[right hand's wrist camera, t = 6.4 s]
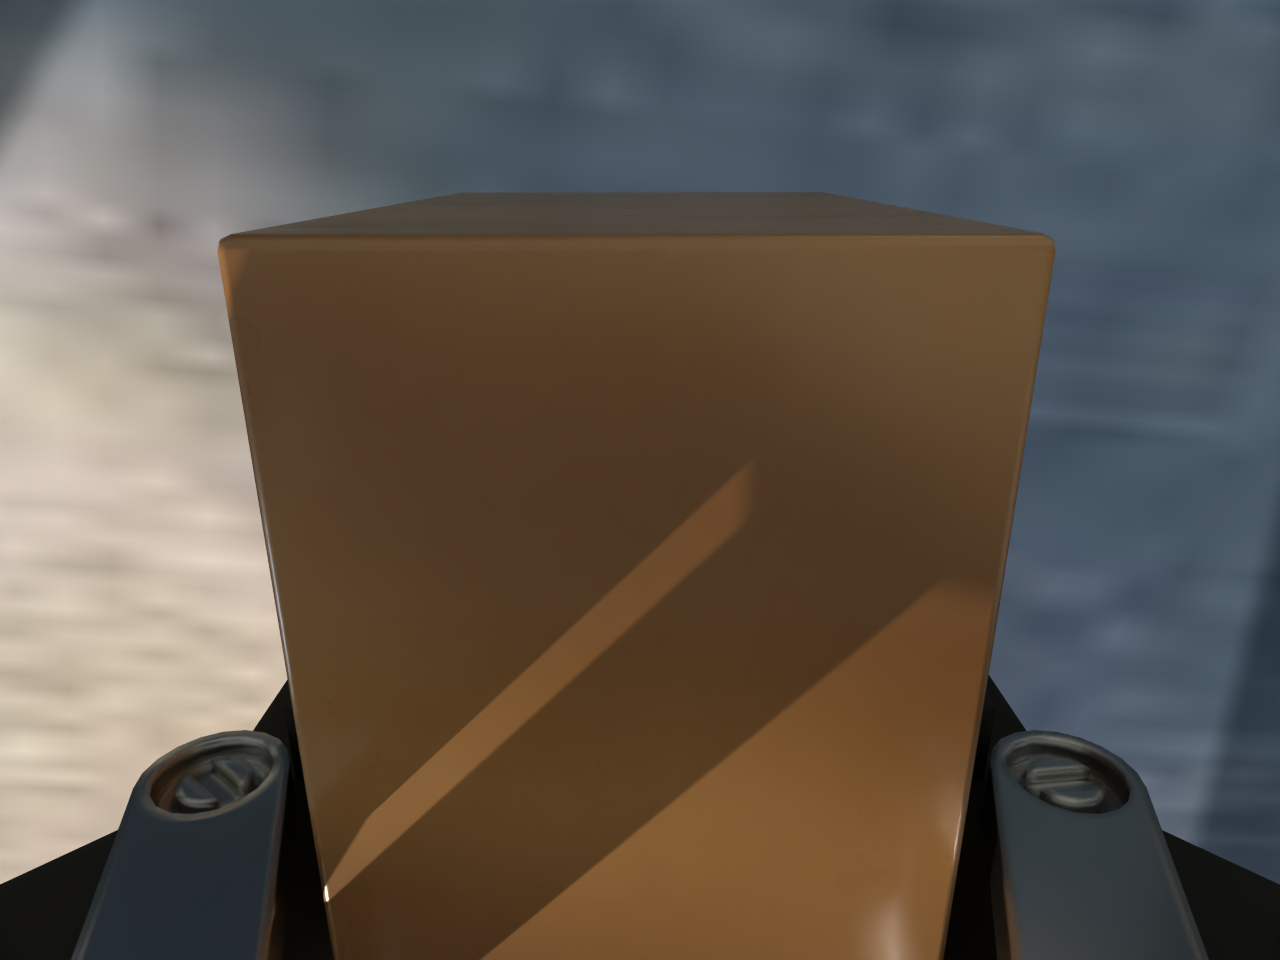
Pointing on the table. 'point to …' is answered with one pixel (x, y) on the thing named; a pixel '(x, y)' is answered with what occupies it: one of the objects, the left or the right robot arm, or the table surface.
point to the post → (637, 561)
